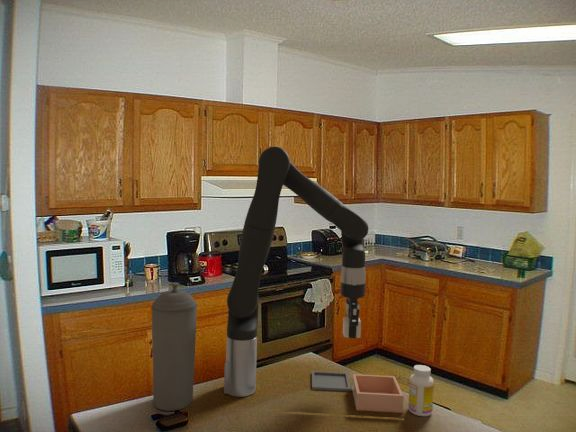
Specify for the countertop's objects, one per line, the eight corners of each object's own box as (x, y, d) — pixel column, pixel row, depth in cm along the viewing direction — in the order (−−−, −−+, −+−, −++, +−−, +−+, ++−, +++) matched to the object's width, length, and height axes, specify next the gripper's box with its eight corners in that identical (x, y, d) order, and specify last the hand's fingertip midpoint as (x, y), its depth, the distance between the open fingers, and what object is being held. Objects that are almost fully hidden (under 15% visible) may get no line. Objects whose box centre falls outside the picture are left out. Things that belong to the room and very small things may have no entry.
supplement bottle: (433, 409, 131) (436, 366, 130) (430, 419, 125) (433, 374, 124) (410, 403, 134) (412, 361, 133) (406, 413, 128) (408, 369, 127)
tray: (311, 391, 140) (312, 386, 140) (311, 375, 152) (311, 370, 152) (350, 393, 140) (350, 388, 140) (347, 376, 152) (347, 372, 151)
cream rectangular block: (344, 337, 138) (344, 321, 138) (342, 332, 142) (343, 317, 142) (360, 337, 138) (360, 321, 138) (358, 333, 142) (359, 317, 142)
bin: (356, 412, 128) (357, 393, 128) (351, 391, 141) (352, 374, 141) (402, 414, 128) (403, 395, 127) (393, 393, 141) (394, 376, 140)
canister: (201, 394, 136) (203, 279, 133) (187, 415, 123) (189, 289, 121) (160, 391, 137) (161, 277, 134) (142, 411, 124) (144, 286, 122)
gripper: (338, 275, 146) (337, 327, 148) (343, 285, 132) (341, 343, 133) (362, 276, 146) (360, 328, 147) (368, 286, 132) (367, 343, 133)
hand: (351, 335), depth 140 cm, fingers closed on cream rectangular block, 4 cm apart
